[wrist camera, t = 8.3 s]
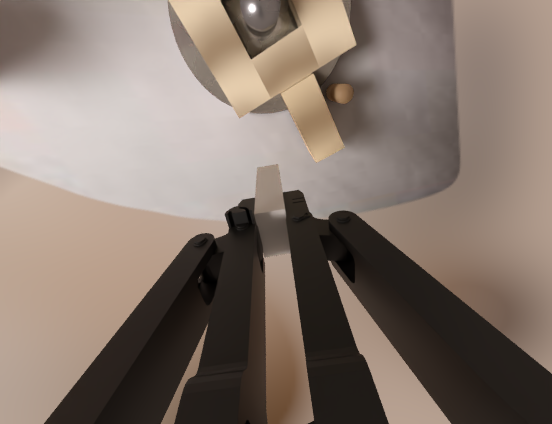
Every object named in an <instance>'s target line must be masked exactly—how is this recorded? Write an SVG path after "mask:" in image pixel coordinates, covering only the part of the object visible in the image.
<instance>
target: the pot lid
mask: <svg viewBox="0 0 552 424" xmlns="http://www.w3.org/2000/svg"><path fill="white" fill-rule="evenodd" d="M342 2H343V5H344V8H345V11H346V14H347V17H348V20H349V22H350V11H351V0H342ZM221 3H222V5H223V7H224V9H225V11H226V13H227V15H228V16H229V18H230V20H231V22H232V24H233V26H234V28H235V30H236V32H237V34H238V36H239V38H240V40H241V41H242V43H243V45H244V47H245V49H246V51H247V53H248V55H249V57H250V59H253V58H254V57H256V56H257V55H259V54H260V53H262V52H263V51H265V50H266V49H268V48H269V47H270V46H272V45H273V44H275V43H276V42H278V41H279V40H281V39H282V38H284V37H285V36H287V35H288V34H290V33H291V32H293V31H294V30H296V29H297V28H298V25H297V23H296V21H295V18H294V16H293V13H292V11H291V9H290V6H289V4H288V1H287V0H221ZM168 9H169V16H170V21H171V26H172V30H173V33H174V36H175V40H176V42H177V45H178V47H179V50H180V52H181V54H182V56H183V58H184V60H185V62H186V64H187V65H188V67H189V68H190V70H191V71H192V73H193V74H194V76H195V77H196V78H197V79H198V81H199V82H200V83H201V84H202V85H203V86H204V87H205V88H206V89H207V90H208V91H209V92H210V93H211V94H212V95H214V96H215V97H217V98H218V99H219V100H221V101H222V102H224V103H226V104H228V105H230V106H232V105H231V103H230V102H229V100H228V98H227V97H226V95H225V93H224V92H223V90H222V88H221V87H220V85H219V83H218V82H217V80H216V78H215V77H214V75H213V74H212V72H211V70H210V69H209V67H208V65H207V64H206V62H205V60H204V59H203V57H202V55H201V54H200V52H199V50H198V49H197V47H196V45H195V44H194V42H193V40H192V39H191V37H190V35H189V34H188V32H187V30H186V29H185V27H184V25H183V24H182V22H181V20H180V19H179V17H178V15H177V14H176V12H175V10H174V9H173V7H172V5H171V4H170V2H169V0H168ZM339 56H340V55H339ZM339 56H338V57H336V58H335V59H333V60H331V61H330V62H328V63H327V64H325V65H323V66H322V67H320V68H319V69H317V70H316V71H314V72H312V73H311V74H314V76H315V78H316V81H317V83H318V85H319V87H320V86H321V85H322V84H323V83H324V82H325V80H326V79H327V78H328V76H329V75H330V73H331V72H332V70H333V68H334V67H335V65H336V63H337V61H338V59H339ZM286 109H288V108H287V106H286V104H285V102H284V100H283V98H282V96H281V94H280V93H279V94H277V95H276V96H274V97H273V98H271V99H269V100H268V101H266V102H265V103H263V104H261V105H260V106H258V107H257V108H255V109H253V110H252V111H250V112H252V113H274V112H279V111H283V110H286Z"/></svg>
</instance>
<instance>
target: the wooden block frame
mask: <svg viewBox="0 0 552 424" xmlns="http://www.w3.org/2000/svg"><path fill="white" fill-rule="evenodd" d="M287 1H288V4H289V6H290V9H291V11H292V13H293V16H294V18H295V21H296V23H297V25H298V28H297V29H296V30H294V31H293V32H291V33H290V34H288V35H287V36H285V37H284V38H282V39H281V40H279V41H278V42H276V43H275V44H273V45H272V46H270V47H269V48H268V49H266V50H265V51H263V52H262V53H260V54H259V55H257V56H256V57H254V58H253V59H250V57H249V55H248V53H247V51H246V49H245V47H244V45H243V43H242V41H241V40H240V38H239V36H238V34H237V32H236V30H235V28H234V26H233V24H232V22H231V20H230V18H229V16H228V15H227V13H226V11H225V9H224V7H223V5H222V3H221V0H169V2H170V4H171V5H172V7H173V9H174V10H175V12H176V14H177V15H178V17H179V19H180V20H181V22H182V24H183V25H184V27H185V29H186V30H187V32H188V34H189V35H190V37H191V39H192V40H193V42H194V44H195V45H196V47H197V49H198V50H199V52H200V54H201V55H202V57H203V59H204V60H205V62H206V64H207V65H208V67H209V69H210V70H211V72H212V74H213V75H214V77H215V78H216V80H217V82H218V83H219V85H220V87H221V88H222V90H223V92H224V93H225V95H226V97H227V98H228V100H229V102H230V103H231V105H232V107H233V108H234V110H235V112H236V113H237V115H238V117H239V118H241V117H242V116H244V115H246V114H247V113H249V112H250V111H252V110H253V109H255V108H257V107H258V106H260V105H261V104H263V103H265V102H266V101H268V100H269V99H271V98H273V97H274V96H276V95H277V94H279V93H280V94H281V96H282V98H283V100H284V102H285V104H286V106H287V108H288V110H289V112H290V114H291V116H292V118H293V120H294V122H295V124H296V126H297V128H298V130H299V132H300V134H301V136H302V138H303V140H304V142H305V144H306V146H307V148H308V150H309V152H310V154H311V156H312V157H313V159H314V160H315V162H316V163H317V162H319V161H321V160H323V159H324V158H326V157H328V156H330V155H332V154H334V153H336V152H337V151H339V150H341V149H343V148H345V147H344V145H343V142H342V140H341V138H340V135H339V133H338V131H337V128H336V126H335V123H334V121H333V119H332V116H331V114H330V111H329V109H328V107H327V104H326V102H325V100H324V97H323V95H322V92H321V90H320V88H319V85H318V83H317V81H316V78H315V76H314V74H311V73H312V72H314V71H316V70H317V69H319V68H320V67H322V66H323V65H325V64H327V63H328V62H330V61H331V60H333V59H335V58H336V57H338V56H339V55H341V54H343V53H344V52H346V51H347V50H349V49H351V48H352V47H354V46H355V45H356V42H355V38H354V35H353V32H352V29H351V26H350V23H349V20H348V17H347V14H346V11H345V8H344V5H343V2H342V0H287Z"/></svg>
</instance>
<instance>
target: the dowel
mask: <svg viewBox="0 0 552 424" xmlns="http://www.w3.org/2000/svg"><path fill="white" fill-rule="evenodd" d="M353 94H354V91H353V88H352V86H351V85H349V84H331V85H329V86H328V87H327V89H326V97H327V98H328V99H329V100H331V101H334V102H338V103H341V104H346V103H348V102H349V101H350V100H351V99H352V97H353Z"/></svg>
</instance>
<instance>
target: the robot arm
mask: <svg viewBox="0 0 552 424" xmlns="http://www.w3.org/2000/svg"><path fill="white" fill-rule="evenodd" d="M225 217H226V220H227V223H228V226H229V232H228V234H226V235H224V236H222V237H219V238H216V239H214V236H213V235H212V234H209V233H205V234H199V235H196V236H195V237H193V238H192V239H190V240H189V241H188V243H187V244H186V245H185V246H184V248H183V249H182V250H181V251H180V253H179V254H178V255H177V256H176V258H175V259H174V260H173V262H172V263H171V264H170V265H169V267H168V268H167V269H166V270H165V272H164V273H163V274H162V276H161V277H160V278H159V279H158V281H157V282H156V283H155V284H154V285H153V287H152V288H151V289H150V291H149V292H148V293H147V294H146V296H145V297H144V298H143V299H142V301H141V302H140V303H139V305H138V306H137V307H136V308H135V310H134V311H133V312H132V313H131V314H130V316H129V317H128V318H127V320H126V321H125V322H124V324H123V325H122V326H121V327H120V328H119V330H118V331H117V332H116V333H115V335H114V336H113V337H112V338H111V340H110V341H109V342H108V343H107V345H106V346H105V347H104V349H103V350H102V351H101V353H100V354H99V355H98V356H97V357H96V359H95V360H94V361H93V362H92V364H91V365H90V366H89V368H88V369H87V370H86V371H85V373H84V374H83V375H82V376H81V378H80V379H79V380H78V381H77V383H76V384H75V385H74V386H73V388H72V389H71V390H70V392H69V393H68V394H67V395H66V397H65V398H64V399H63V400H62V402H61V403H60V404H59V405H58V407H57V408H56V409H55V410H54V412H53V413H52V414H51V415H50V417H49V418H48V419H47V421H46V422H45V423H44V424H161V422H162V420H163V418H164V415H165V413H166V411H167V409H168V407H169V405H170V403H171V401H172V399H173V396H174V394H175V392H176V390H177V388H178V386H179V384H180V381H181V379H182V377H183V375H184V373H185V371H186V369H187V366H188V364H189V362H190V360H191V358H192V356H193V353H194V352H195V350H196V347H197V345H198V343H199V341H200V339H201V337H202V335H203V333H204V330H205V328H206V326H207V324H208V327H207V332H206V336H205V341H204V345H203V350H202V354H201V359H200V363H199V368H198V371H197V374H196V375H195V376H194V377H192V378H190V379H188V381H187V383H186V384H185V387H184V389H183V393H182V396H181V400H180V404H179V407H178V412H177V415H176V419H175V423H174V424H268V423H267V414H266V345H265V344H266V342H265V341H266V338H265V263H264V258H263V253H264V257H270V256H277V255H283V254H290V253H291V259H292V266H293V273H294V280H295V287H296V294H297V300H298V308H299V314H300V320H301V321H300V322H301V328H302V335H303V342H304V349H305V356H306V365H307V373H308V380H309V387H310V394H311V401H312V407H313V415H314V421H312V422H311V423H308V424H389V423H388V420H387V417H386V415H385V412H384V409H383V406H382V403H381V400H380V398H379V395H378V392H377V389H376V386H375V384H374V381H373V378H372V375H371V372H370V370H369V367H368V364H367V362H366V360H365V358H364V356H363V355H362V354H360V353H359V351H358V349H357V346H356V344H355V341H354V337H353V335H352V331H351V329H350V326H349V323H348V320H347V317H346V314H345V311H344V308H343V305H342V302H341V299H340V296H339V293H338V290H337V287H336V284H335V281H334V278H333V275H332V272H331V269H330V267H329V263H328V260H329V261H331V263H332V265H333V266H334V268H335V269H336V270H337V272H338V273H339V274H340V276H341V277H342V278H343V280H344V281H345V282H346V284H347V285H348V286H349V288H350V289H351V290H352V292H353V293H354V294H355V296H356V297H357V298H358V300H359V301H360V302H361V304H362V305H363V306H364V308H365V309H366V310H367V311H368V313H369V314H370V316H371V317H372V318H373V320H374V321H375V322H376V324H377V325H378V326H379V328H380V329H381V330H382V332H383V333H384V334H385V336H386V337H387V338H388V340H389V341H390V342H391V344H392V345H393V346H394V348H395V349H396V350H397V352H398V353H399V354H400V356H401V357H402V358H403V360H404V361H405V362H406V364H407V365H408V366H409V368H410V369H411V370H412V372H413V373H414V374H415V376H416V377H417V378H418V380H419V381H420V382H421V384H422V385H423V386H424V388H425V389H426V390H427V392H428V393H429V395H430V396H431V397H432V398H433V400H434V401H435V402H436V404H437V405H438V406H439V408H440V409H441V411H442V412H443V413H444V414H445V416H446V417H447V418H448V420H449V421H450V422H451V424H552V374H551V373H550V372H549V371H548V370H546V369H545V368H544V367H543V366H542V365H540V364H539V363H538V362H536V361H535V360H534V359H533V358H532V357H530V356H529V355H528V354H527V353H526V352H524V351H523V350H522V349H521V348H519V347H518V346H517V345H516V344H515V343H513V342H512V341H511V340H510V339H508V338H507V337H506V336H505V335H503V334H502V333H501V332H500V331H498V330H497V329H496V328H495V327H493V326H492V325H491V324H490V323H489V322H487V321H486V320H485V319H484V318H482V317H481V316H480V315H479V314H478V313H476V312H475V311H474V310H472V309H471V308H470V307H469V306H468V305H467V304H465V303H464V302H462V300H460V299H459V298H458V297H457V296H456V295H454V294H453V293H452V292H451V291H449V290H448V289H447V288H445V287H444V286H443V285H442V284H441V283H440V282H438V281H437V280H436V279H435V278H433V277H432V276H431V275H430V274H428V273H427V272H426V271H425V270H424V269H422V268H421V267H420V266H419V265H417V264H416V263H415V262H414V261H413V260H411V259H410V258H409V257H408V256H406V255H405V254H404V253H403V252H402V251H400V250H399V249H398V248H397V247H395V246H394V245H393V244H392V243H390V242H389V241H388V240H387V239H385V238H384V237H383V236H382V235H381V234H379V233H378V232H377V231H376V230H374V229H373V228H372V227H371V226H370V225H368V224H367V223H366V222H365V221H363V220H362V219H361V218H360V217H359V216H357V215H356V214H354V213H353V212H349V211H337V212H334V213H332V214H331V215H330V216H329V219H328V220H323V219H317V218H314V217H313V216H312V214H311V213H310V212H309V210H308V207H307V204H306V201H305V198H304V195H303V193H302V192H301V191H299V190H295V191H289V192H282V186H281V179H280V173H279V167H278V164H276V165H270V166H264V167H259V168H257V180H256V194H255V198H251V199H244V200H242V201H241V202H240V203H239V204H238V206H237V207H233V208H231V209H229V210H228V211H227V212H226V213H225ZM199 277H200V278H199ZM198 279H199V280H198Z"/></svg>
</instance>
